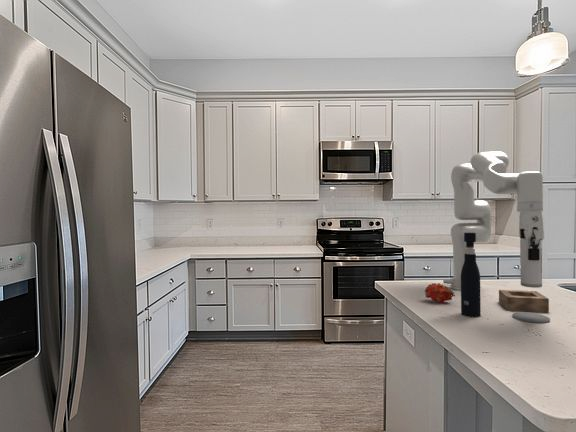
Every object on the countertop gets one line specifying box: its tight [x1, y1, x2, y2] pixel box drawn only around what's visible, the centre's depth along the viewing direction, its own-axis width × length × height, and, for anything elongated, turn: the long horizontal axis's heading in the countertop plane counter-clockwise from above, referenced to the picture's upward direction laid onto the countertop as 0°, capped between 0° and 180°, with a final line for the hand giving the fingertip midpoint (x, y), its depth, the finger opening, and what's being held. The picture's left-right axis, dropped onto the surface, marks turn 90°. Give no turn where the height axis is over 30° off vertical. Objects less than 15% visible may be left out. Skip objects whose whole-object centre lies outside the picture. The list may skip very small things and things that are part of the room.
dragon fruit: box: [424, 282, 456, 304], centre depth 151 cm, size 8×8×12 cm
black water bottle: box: [460, 233, 482, 318], centre depth 133 cm, size 6×6×30 cm
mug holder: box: [498, 289, 550, 313], centre depth 142 cm, size 13×13×5 cm
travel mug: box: [519, 229, 543, 289], centre depth 127 cm, size 6×7×20 cm
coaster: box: [511, 311, 551, 324], centre depth 127 cm, size 11×11×1 cm
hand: (530, 258), depth 127 cm, fingers closed on travel mug, 6 cm apart
